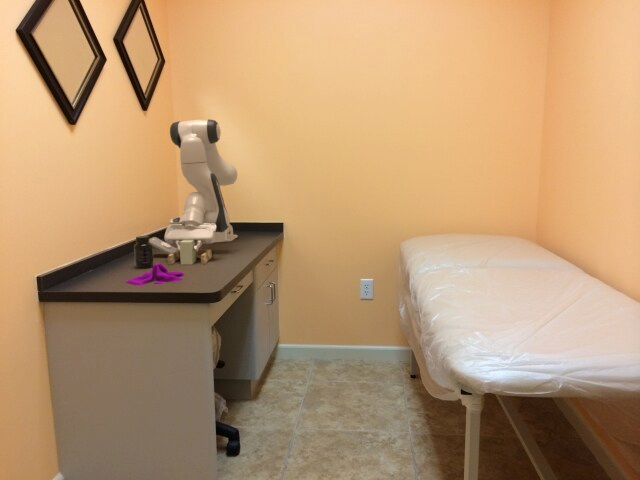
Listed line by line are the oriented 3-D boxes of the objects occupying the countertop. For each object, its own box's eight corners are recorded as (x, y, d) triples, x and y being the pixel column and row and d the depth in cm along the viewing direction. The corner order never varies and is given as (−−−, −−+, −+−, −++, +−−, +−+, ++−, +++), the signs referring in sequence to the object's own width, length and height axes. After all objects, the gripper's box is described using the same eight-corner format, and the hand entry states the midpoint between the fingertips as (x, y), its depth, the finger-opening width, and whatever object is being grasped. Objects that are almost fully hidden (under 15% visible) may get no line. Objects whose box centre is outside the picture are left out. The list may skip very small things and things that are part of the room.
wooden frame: (177, 257, 213) (177, 249, 212) (211, 257, 213) (211, 249, 212) (168, 264, 199) (167, 256, 198) (204, 264, 199) (203, 255, 198)
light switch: (177, 254, 212) (147, 237, 212) (171, 266, 213) (141, 249, 213) (184, 250, 220) (155, 234, 220) (179, 261, 221) (150, 246, 221)
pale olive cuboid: (185, 260, 206) (184, 239, 205) (196, 260, 206) (195, 239, 205) (180, 264, 199) (179, 242, 198) (192, 264, 199) (190, 242, 198)
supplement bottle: (134, 265, 198) (132, 235, 196) (152, 264, 200) (151, 234, 198) (135, 269, 191) (133, 238, 189) (154, 267, 194) (152, 237, 192)
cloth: (119, 287, 167) (118, 269, 166) (140, 274, 185) (138, 258, 184) (185, 287, 167) (184, 269, 166) (199, 274, 185) (198, 257, 184)
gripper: (218, 227, 212) (214, 254, 204) (170, 228, 212) (164, 255, 204) (215, 218, 207) (211, 246, 199) (166, 219, 207) (160, 246, 199)
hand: (187, 250), depth 201 cm, fingers open, 5 cm apart
